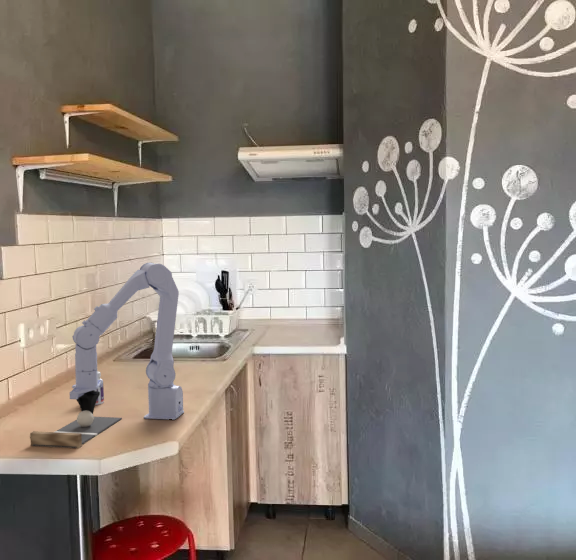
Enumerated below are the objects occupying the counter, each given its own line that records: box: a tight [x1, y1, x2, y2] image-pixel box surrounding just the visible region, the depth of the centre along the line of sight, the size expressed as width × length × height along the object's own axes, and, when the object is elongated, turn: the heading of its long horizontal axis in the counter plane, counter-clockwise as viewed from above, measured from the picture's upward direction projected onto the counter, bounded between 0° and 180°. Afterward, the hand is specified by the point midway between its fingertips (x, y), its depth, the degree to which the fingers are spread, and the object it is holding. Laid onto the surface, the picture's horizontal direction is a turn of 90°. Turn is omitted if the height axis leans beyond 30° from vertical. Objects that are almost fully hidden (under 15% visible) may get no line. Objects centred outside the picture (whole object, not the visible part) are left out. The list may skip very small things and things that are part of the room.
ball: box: [76, 410, 95, 427], centre depth 175 cm, size 4×4×4 cm
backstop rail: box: [29, 430, 83, 449], centre depth 160 cm, size 13×2×3 cm, turn 79°
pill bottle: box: [94, 370, 105, 406], centre depth 200 cm, size 5×5×10 cm
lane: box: [33, 416, 123, 449], centre depth 172 cm, size 12×25×1 cm, turn 169°
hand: (87, 418), depth 177 cm, fingers closed, pressing on ball
